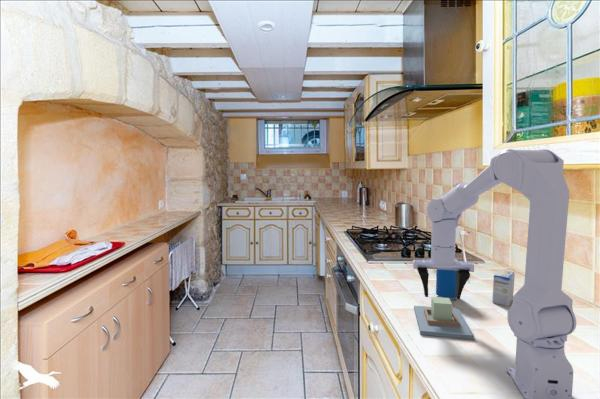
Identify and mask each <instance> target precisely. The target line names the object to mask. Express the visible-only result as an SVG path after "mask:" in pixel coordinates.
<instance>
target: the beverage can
mask: <svg viewBox="0 0 600 399" xmlns="http://www.w3.org/2000/svg"><path fill="white" fill-rule="evenodd" d="M455 261H459V260H458V258H455ZM435 277H436V279H435V281H436V282H435V295H436V296H437V297H442V298H449V299H450V301H453V300H455V299H457V298H456V296H455V290H456V270H440V269H436V276H435Z"/></svg>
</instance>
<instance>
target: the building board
mask: <svg viewBox="0 0 600 399" xmlns="http://www.w3.org/2000/svg"><path fill="white" fill-rule="evenodd" d="M413 311H414V315H415V318H416V323H417V327H418V331H419V335H420V336H430V337H432V336H433V337H441V338H442V337H443V338H451V339H453V338H454V339H463V340H473V341H474V340H475V335H474V333H473V331H472V329H471V328H470V325H469V324H468V322H467V321H466V318H465V317H464V315H463V314H462V312H461V310H460V308H453V307H452V321H443V320H433V319H432V316H431V306H424V305H423V306H422V305H414V306H413Z"/></svg>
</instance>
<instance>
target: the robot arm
mask: <svg viewBox="0 0 600 399" xmlns="http://www.w3.org/2000/svg"><path fill="white" fill-rule="evenodd" d="M564 162H565V161H564V159H562V158H561V157H560V156H559V155H557V154H556V153H555V152H554V151H553V150H550V149H544V148H543V149H512V148H505V149H504V150H501V151H499V152H498V154H497V155H496V156H493V157H492V158H490V163H489V164H488V165H487V166H486V167H485V168H484V169H483V170H482V171H481V172H479V173H478V175H476V176H475V177H474V178H473V179H471V181H469V182H468V183H467V182H458V183H455V184H454V185H453V187H454V188H452V189H451V190H449V191H448V192H447V193H444V194H443V195H442V197H441V198H431V199H430V201H429V202H428V204H427V206H426V212H427V213H426V214H427V217H428V218H429V220H430V221H431V232H430V233H431V234H430V235H431V237H430V238H431V240H430V242H431V244H430V259H413V260H412V268H413V270H417V273H418V274H419V277H420V279H421V282H422V286H423V293H424V297H425V298H429V276H430V274H429V270H437V269H440V270H456V290H455V296H456V298H455V299H456V300H461V296H462V293H463V290H464V288H465V286H466V284H467V282H468V280H470V277H471V273H474V272H475V264H474V263H473V262H468V261H460V260H458V261H455V259H456V230H457V229H456V228H458V226H459V220H460V219H461V218H462V214H463V213H464V212H465V211H466V210H468V209H470V208H471V207H473V206H474V205H476V204H477V203H478V202H479V198H480V197H479V196H480V195H482V194H484V193H486V192H487V191H489V190H491V189H493V188H494V187H496V186H498V185H499V184H501V183H503V184H505V185H507V186H508V187H510V188H512V189H514V190H516V191H518V192H520V193H521V194H522V195H523V196H524V197H525V198H526V199H527V200H528V201H529V214H528V225H527V226H528V229H527V241H526V257H525V258H526V259H525V270H524V282H523V285H522V287H520V289H518V290H517V292H516V293H515V294H513V299H512V302H511V306H510V308H509V309H508V311H507V317H506V318H507V324H508V326H509V327H510V330H511V331H512V333H513V336H514V337H516V343H515V344H516V345H515V346H516V348H515V364H514V365H515V367H507V368H506V371H507V372H508V374H509V376H510V378H511V379H512V381H513V382H514V384H515V385H516V387H517V388H518V390H519V391H520V393H521V394H522V397H523V398H524V399H575V398H574V397H573V387H574V385H573V383H574V368H573V366H572V364H571V362H570V361H569V359H568V358H567V356H566V352H565V342H567V341H568V336H569V335H571V334H572V333H573V332H575V330H576V327H577V318H576V316H575V312H574V309H573V308H574V307H573V298H571V297H570V296H569V295H568V294H567V293H565V292H564V291H563V290H562V285H563V277H564V276H563V275H564V274H563V273H564V264H565V261H564V260H565V251H566V238H567V228H568V227H567V226H568V215H569V214H568V213H569V204H570V189H569V186H568V184H567V181H566V178H565V176H564V164H565V163H564Z"/></svg>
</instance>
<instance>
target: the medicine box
mask: <svg viewBox="0 0 600 399" xmlns="http://www.w3.org/2000/svg"><path fill="white" fill-rule="evenodd" d="M492 283H493V284H492V286H493V288H492V303H493V304H496V305H501V306H505V307H509V306H510V304H512V302H513V296H514V290H515V271H512V270H511V271H510V270H505V269H498V270H497V271H496V273H494V274H493V282H492Z"/></svg>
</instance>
